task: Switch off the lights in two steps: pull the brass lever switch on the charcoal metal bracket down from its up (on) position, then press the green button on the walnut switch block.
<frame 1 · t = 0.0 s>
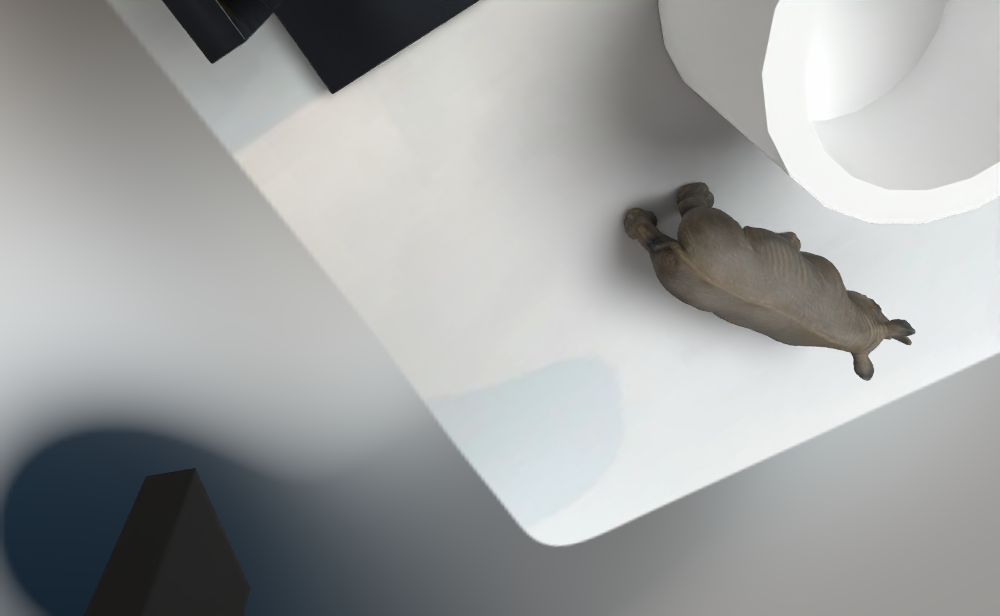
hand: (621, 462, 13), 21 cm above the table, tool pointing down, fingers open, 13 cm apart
rhino figurine: (758, 257, 36), on the table
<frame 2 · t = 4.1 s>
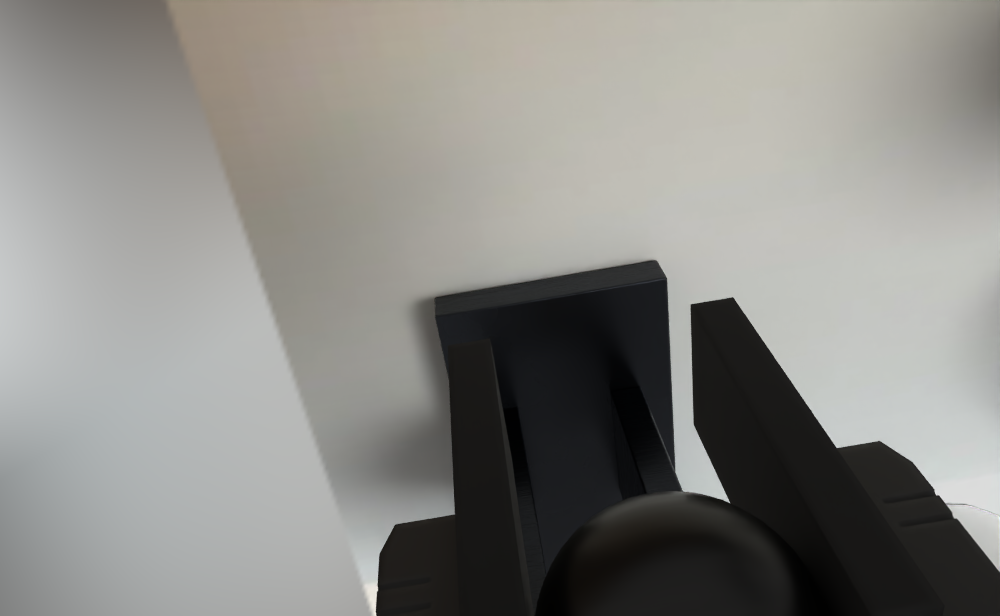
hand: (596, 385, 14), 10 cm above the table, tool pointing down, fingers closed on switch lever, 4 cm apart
switch bracket: (565, 428, 27), on the table
mug: (926, 584, 34), on the table
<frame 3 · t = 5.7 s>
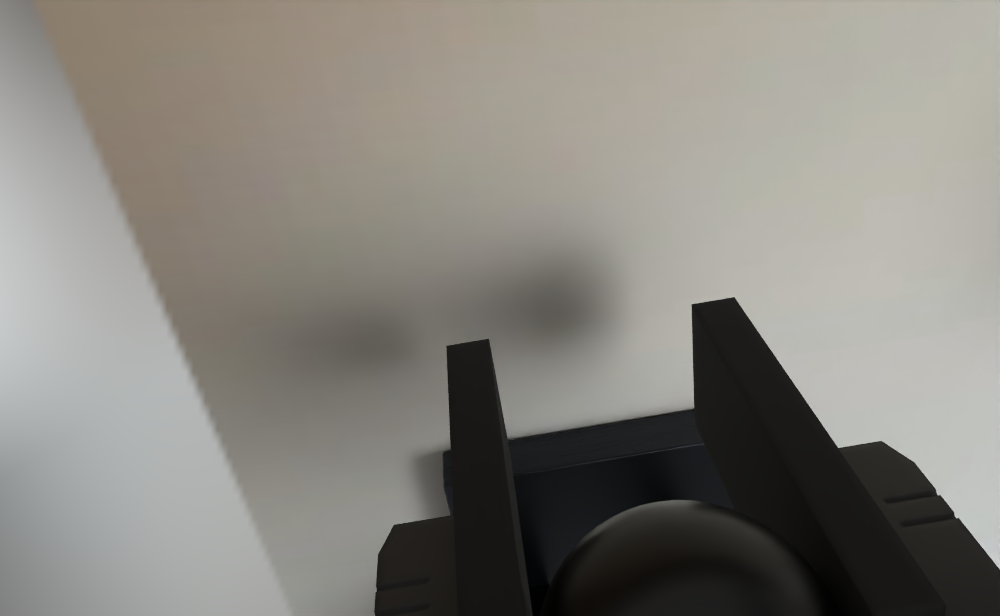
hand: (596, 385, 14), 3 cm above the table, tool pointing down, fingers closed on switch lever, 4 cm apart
switch bracket: (605, 593, 22), on the table
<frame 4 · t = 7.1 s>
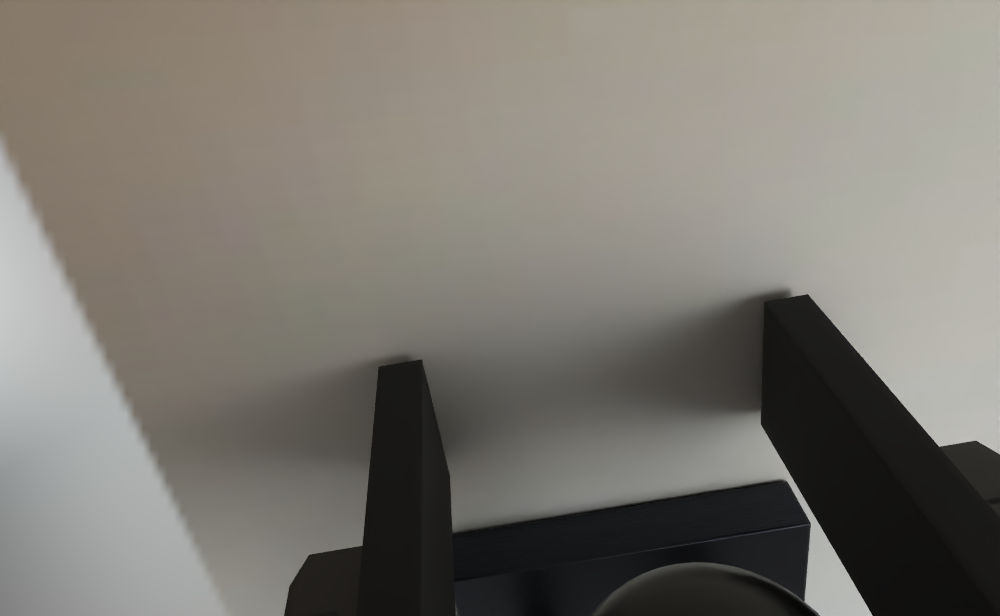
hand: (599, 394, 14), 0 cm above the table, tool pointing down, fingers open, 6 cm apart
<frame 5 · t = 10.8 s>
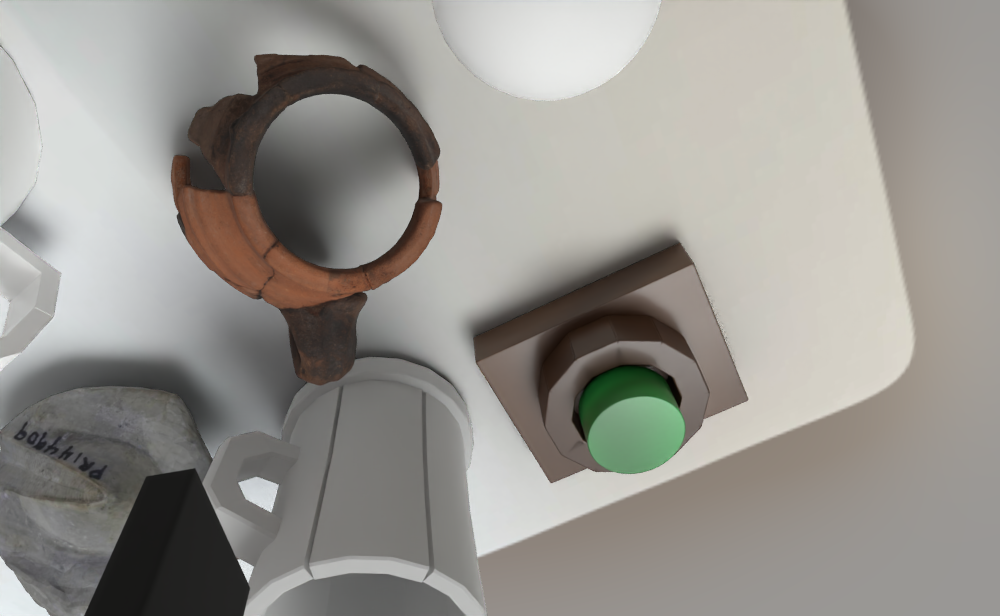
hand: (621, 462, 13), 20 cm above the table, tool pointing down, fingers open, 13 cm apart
broken clay pot: (315, 190, 32), on the table
fossil: (147, 440, 37), on the table
cup: (362, 425, 38), on the table
button block: (607, 357, 37), on the table
light button: (630, 419, 33), point 5 cm above the table, slide at 0.1 cm
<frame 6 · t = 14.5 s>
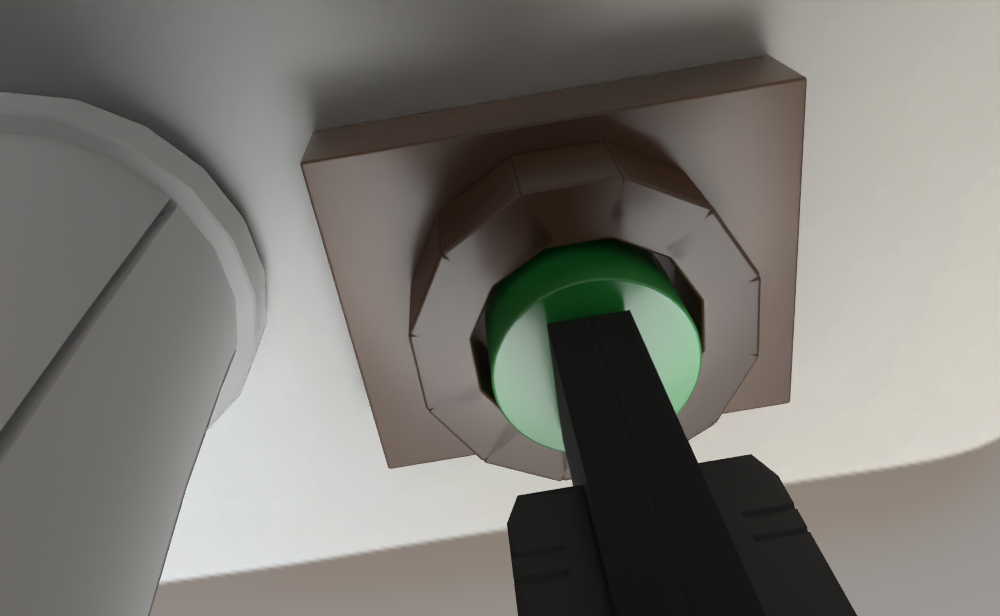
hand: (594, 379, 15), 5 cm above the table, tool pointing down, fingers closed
cup: (42, 261, 18), on the table
button block: (560, 256, 19), on the table
light button: (587, 341, 16), point 4 cm above the table, slide at -0.7 cm, touching gripper
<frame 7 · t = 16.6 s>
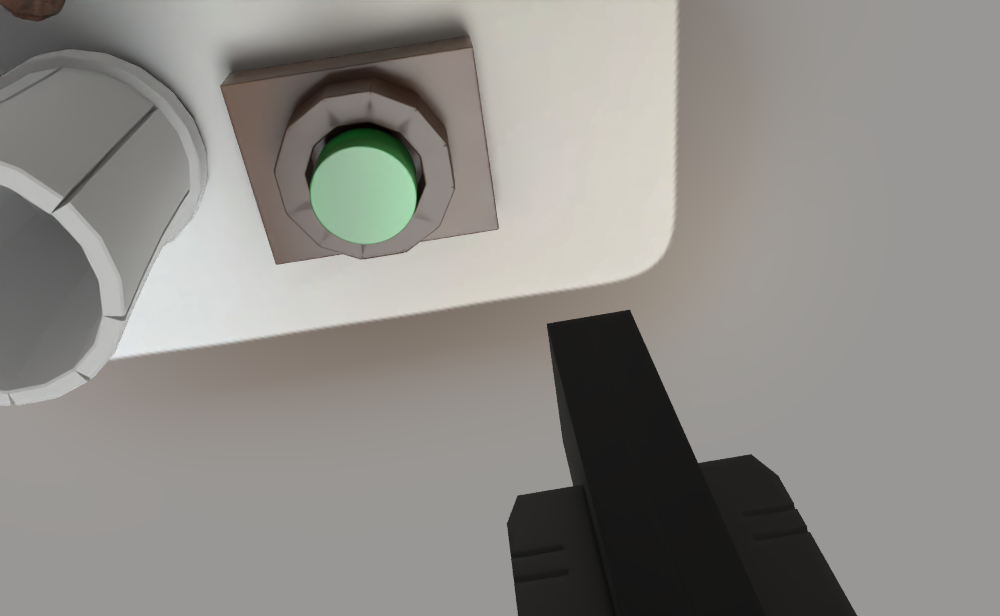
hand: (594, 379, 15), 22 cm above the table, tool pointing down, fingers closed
cup: (83, 143, 34), on the table
button block: (370, 146, 35), on the table
light button: (365, 186, 31), point 5 cm above the table, slide at 0.1 cm
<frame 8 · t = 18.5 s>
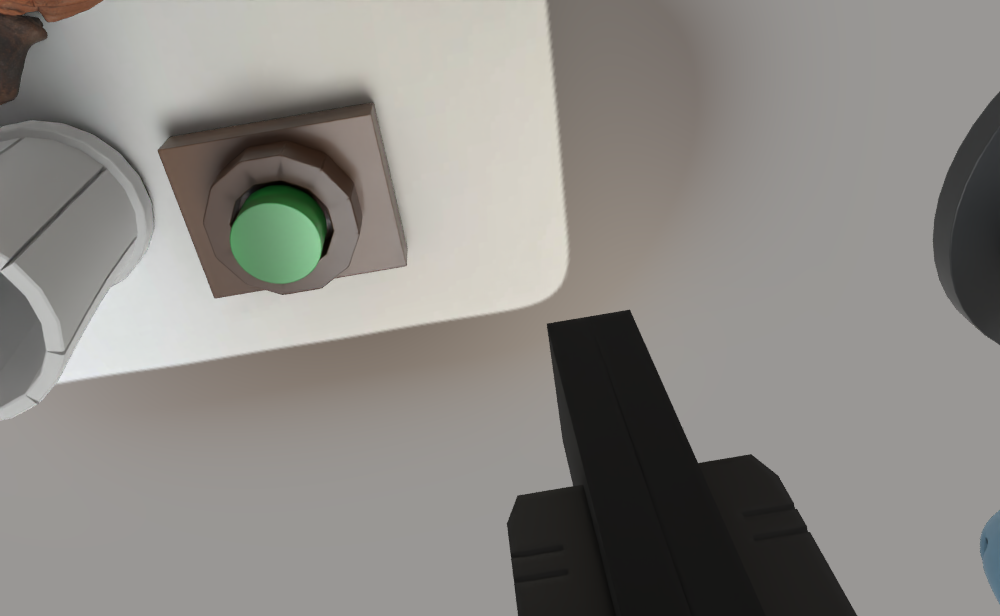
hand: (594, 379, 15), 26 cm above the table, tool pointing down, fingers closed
cup: (47, 197, 39), on the table
button block: (294, 195, 40), on the table
light button: (279, 234, 36), point 5 cm above the table, slide at 0.1 cm
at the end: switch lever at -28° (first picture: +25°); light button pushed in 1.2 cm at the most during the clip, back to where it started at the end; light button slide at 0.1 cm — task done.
